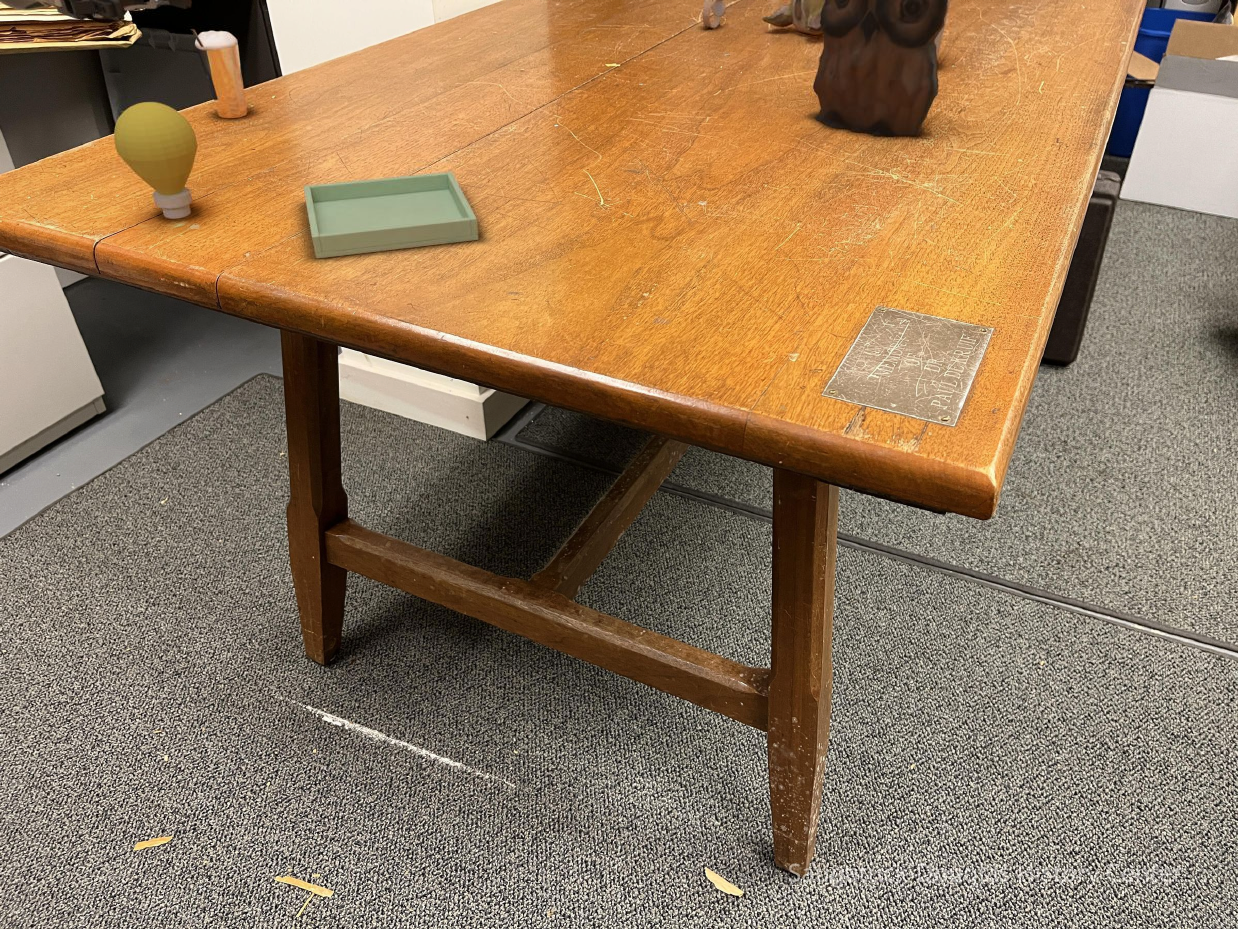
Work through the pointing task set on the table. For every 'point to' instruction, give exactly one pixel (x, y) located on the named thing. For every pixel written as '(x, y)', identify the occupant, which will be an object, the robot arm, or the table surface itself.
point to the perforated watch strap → (717, 10)
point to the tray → (388, 214)
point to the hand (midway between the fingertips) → (154, 4)
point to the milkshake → (222, 71)
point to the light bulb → (159, 153)
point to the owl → (878, 64)
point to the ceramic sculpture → (799, 16)
